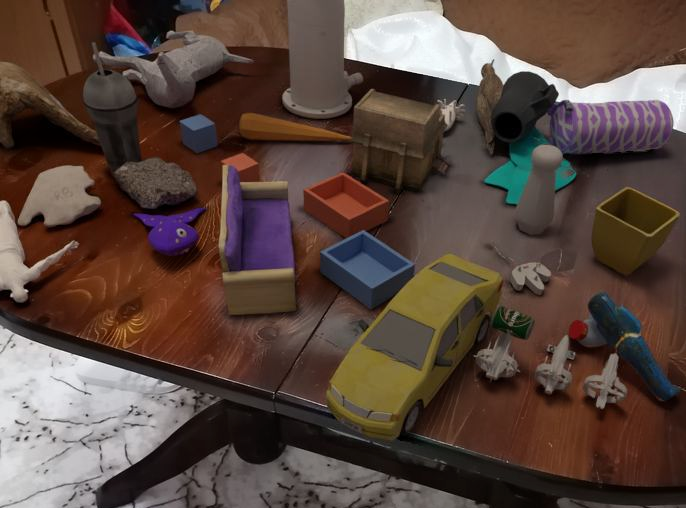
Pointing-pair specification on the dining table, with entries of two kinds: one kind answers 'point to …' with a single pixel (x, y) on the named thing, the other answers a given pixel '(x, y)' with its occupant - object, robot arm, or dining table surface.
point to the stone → (155, 182)
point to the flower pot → (630, 229)
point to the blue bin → (366, 268)
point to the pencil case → (609, 126)
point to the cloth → (513, 172)
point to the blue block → (198, 133)
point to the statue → (176, 67)
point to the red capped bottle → (586, 332)
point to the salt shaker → (539, 191)
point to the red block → (244, 167)
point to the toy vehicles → (552, 370)
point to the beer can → (512, 323)
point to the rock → (33, 104)
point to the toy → (171, 232)
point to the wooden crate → (397, 141)
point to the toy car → (413, 347)
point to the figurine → (19, 257)
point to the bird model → (488, 101)
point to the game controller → (529, 276)
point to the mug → (521, 105)
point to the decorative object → (59, 197)
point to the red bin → (345, 205)
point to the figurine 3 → (629, 343)
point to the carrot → (282, 130)
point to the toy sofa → (256, 246)
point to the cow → (450, 112)
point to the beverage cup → (113, 114)
